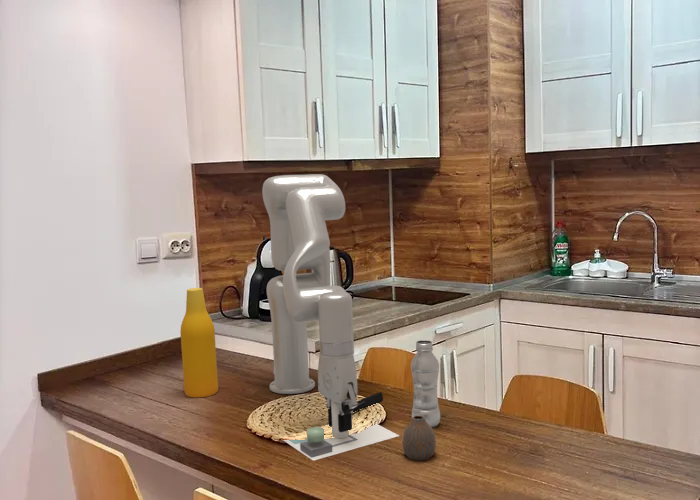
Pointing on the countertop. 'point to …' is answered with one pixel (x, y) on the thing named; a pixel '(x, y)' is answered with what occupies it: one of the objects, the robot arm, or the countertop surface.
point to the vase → (418, 439)
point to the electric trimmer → (369, 401)
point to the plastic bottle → (425, 383)
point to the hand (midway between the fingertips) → (340, 427)
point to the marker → (335, 421)
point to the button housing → (316, 448)
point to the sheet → (350, 441)
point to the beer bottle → (198, 347)
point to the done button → (315, 434)
